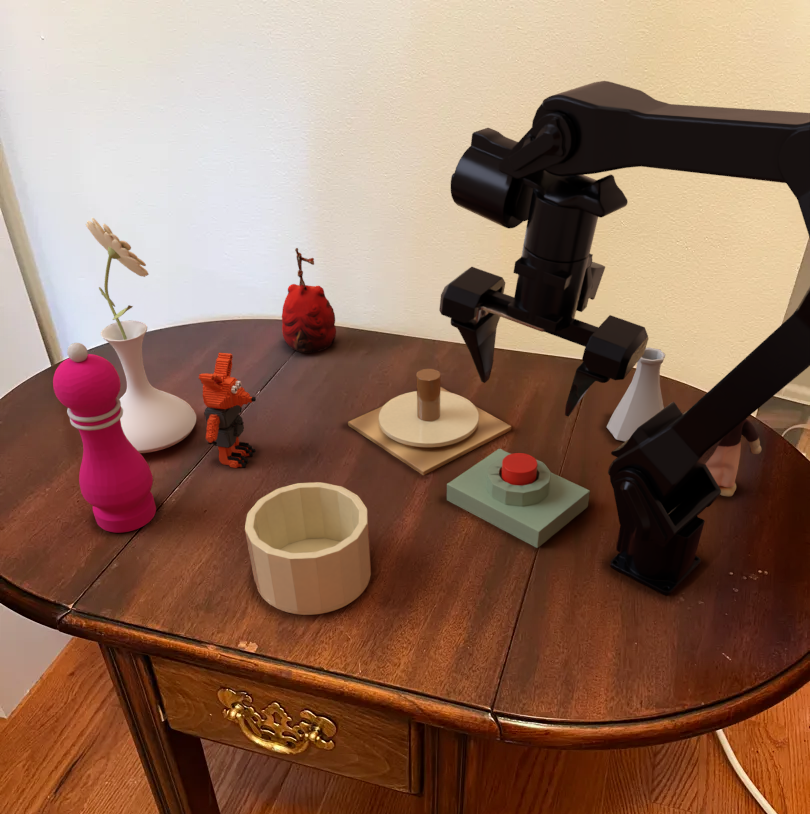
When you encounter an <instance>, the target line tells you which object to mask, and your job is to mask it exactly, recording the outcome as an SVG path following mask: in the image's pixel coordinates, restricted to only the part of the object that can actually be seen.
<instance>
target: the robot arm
mask: <svg viewBox="0 0 810 814" xmlns="http://www.w3.org/2000/svg"><path fill="white" fill-rule="evenodd" d="M470 142H471V143H470V145H469V147H468V148H467V149H466V150H465V151H464V152H463V154H462V155H461V156H460V158H459V160H458V162H457V165H456V167H455V170H454V173H452V175H451V177H450V195H451V199H452V200H453V202H454V204H455V205H456V206H458V207H460V208H462V209H465V210H467V211H468V212H471V213H473V214H475V215H476V216H479V217H481V218H483V219H486V220H488V221H490V222H492V223H495V224H496V225H499V226H500V227H503V228H505V229H514V228H517V227H518V226H519V225H521V224H522V223H523V222H526V227H525V234H524V239H523V245H522V250H521V257H519V258H518V259H517V260H516V261H515V262H514V265H513V266H514V267H513V274H516V275H517V278H516V285H515V289H514V290H515V291H514V296H512V295H508V294H506V293H505V289H506V281H505V279H504V277H502V276H500V275H497V274H494V273H491V272H488V271H486V270H482V269H480V268H477V267H474V266H471V267H469V268H467V269H465V270H464V271H463V272H462V273H461V274H459V275H458V276H457V277H456V278H454V279H453V280H451V281H450V282H449V283H448V284H446V285H445V286H444V288H443V289H442V292H441V293H440V300H439V310H438V311H439V313H440V314H441V316H444V317H446V318H449V319H450V326H452V327H454V328H456V329H457V330H458V332H459V334H460V336H461V338H462V340H463V342H464V344H465V346H466V348H467V349H468V352H469V354H470V357H471V359H472V361H473V364H474V366H475V367H474V368H475V369H476V373H477V374H478V377H479V379H480V382H481V383H483V384H486V383H487V382H488V381H489V380H490V377H491V374H492V369H493V367H494V366H493V365H494V356H495V345H496V338H497V336H496V335H497V329H498V326H499V325H498V324H499V322H500V320H501V318H503V319H506V320H508V321H511V322H514V323H516V324H520V325H522V326H525V327H528V328H530V329H533V330H536V331H538V332H541V333H547V334H549V335H552V336H555V337H557V338H560V339H563V340H565V341H569V342H570V343H573V344H576V345H580V346H582V347H584V350H583V354H582V358H581V360H582V362H581V363H580V364H579V366H578V367H577V368H576V370H575V373H574V376H573V380H572V383H571V386H570V390H569V392H568V395H567V400H566V403H565V406H564V407H565V408H564V416H566V417H570V415H572V414H573V412H574V410H575V409H576V408H577V407H578V405H579V403H580V402H581V400H583V398H584V396H585V395H586V393H587V392H588V391H589V389H590V388H591V387H592V385H593V384H594V383H595V382H598V383H602V384H606V383H608V382H610V380H613V381H623V380H624V379H625V378H626V377H627V376H628V374H629V373H630V372H631V371H632V370H633V368H634V367H635V366H636V365H637V362H638V361H639V359H640V358H641V357H642V356H643V354H644V352H645V348H647V345H648V342H649V335H648V332H647V330H646V327H645V326H643V325H640V324H637V323H634V322H631V321H628V320H625V319H622V318H620V317H617V316H614V315H611V314H609V315H608V316H607V317H606V319H605V320H604V321H603V322H602V323H601V324H600V325H599V326H597V325H593V324H590V323H588V322H585V321H582V320H579V319H577V318H576V314H577V312H579V313H583V312H584V311H585V309H587V307H588V304H589V300H592V301H593V300H595V298H596V295H597V292H598V290H599V287H600V284H601V281H602V278H603V275H604V272H605V269H606V266H605V265H603V264H600V263H598V262H595V261H593V255H594V254H592V253H591V250H592V244H593V241H594V237H595V232H596V229H597V224H598V221H599V220H598V219H599V218H604V217H606V216H609V215H611V214H612V213H615V212H617V211H619V210H621V209H623V208H625V207H627V205H628V202H629V201H628V198H627V197H626V194H624V192H623V190H622V189H621V188H620V187H619V186H618V184H617V182H616V179H615V176H614V175H613V174H608V175H605V176H603V177H601V178H599V179H595V178H592V177H590V176H588V175H595V174H599V173H600V174H601V173H607V172H612V171H617V170H621V169H629V168H630V169H631V168H640V167H642V168H651V169H659V170H669V171H676V172H677V171H678V172H686V173H694V174H703V175H712V176H721V177H727V178H728V177H729V178H737V179H746V180H754V181H764V182H772V183H781V184H786V186H788V188H789V190H790V191H791V192H792V194H793V195H794V197H795V198H796V200H797V202H798V207H799V209H800V212H801V215H802V218H803V222H804V224H805V228H806V231H807V234H808V237H809V239H810V112H800V111H785V110H784V111H783V110H770V109H755V108H753V109H752V108H740V107H739V108H738V107H721V106H704V105H692V104H691V105H690V104H676V103H675V104H674V103H673V104H672V103H668V102H665V101H661V100H658V99H655V98H654V97H653V96H650V95H649V94H647V93H646V92H644V91H643V90H640V89H637V88H633V87H630V86H626V85H623V84H618V83H615V82H612V81H607V80H601V81H600V80H599V81H595V82H591V83H588V84H585V85H582V86H577V87H576V88H571V89H568V90H565V91H562V92H558V93H556V94H552V95H549V96H548V97H546V98H544V99H543V100H542V102H541V104H540V105H539V107H538V108H537V109H536V111H535V114H534V116H533V118H532V124H531V128H530V129H529V130H528V131H527V132H526V133H525V134H524V135H523V136H522V137H521V138H520V139H519V140H518V141H517V140H514V139H512V138H509V137H506V136H505V135H503V134H502V133H501V132H499V131H498V130H495V129H493V128H490V127H485V128H482V129H479V130H476V131H473V132H472V134H471V140H470ZM809 367H810V286H809V287H808V289H807V290H806V293H805V294H804V295H803V297H802V299H801V301H800V303H799V305H798V306H797V308H796V309H795V311H794V312H793V313H792V314H791V315H790V316H789V317H788V318H787V319H786V320H785V321H784V322H782V323H781V324H780V325H779V326H778V327H777V328H776V329H775V330H774V331H773V332H771V334H769V336H767V337H766V338H765V339H764V340H763V341H762V342H760V344H759V345H758V346H756V347H755V348H754V349H753V350H752V351H751V352H750V353H749V354H748V355H746V357H744V358H743V360H741V361H740V362H739V363H738V364H737V365H736V366H735V367H733V368H732V370H730V371H729V372H728V373H727V374H726V375H725V376H724V377H722V379H721V380H720V381H718V382H717V383H716V384H715V385H714V386H713V387H712V388H711V389H710V390H708V391H707V392H706V393H705V394H704V395H703V396H702V397H701V398H700V399H699V400H698V401H696V403H694V404H693V405H692V406H691V407H690V408H688V410H686V411H684V412H682V410H680V408H679V407H678V405H677V403H676V402H675V401H671V402H670V403H669V404H668V405H666V406H665V407H664V409H662V410H661V411H660V412H658V413H657V414H656V415H654V416H653V417H652V418H650V419H649V420H647V421H646V422H645V423H643V424H642V425H641V426H639V427H638V428H637V429H636V430H635V432H634V433H633V434H632V435H631V437H630V438H629V439H628V440H627V441H623V443H621V444H620V445H619V446H617V447H616V448H615V449H613V450H612V451H611V452H610V454H611V455H612V456H613V457H616V458H615V459H614V460H612V462H611V463H610V465H609V467H608V471H607V474H608V475H609V480H610V484H611V487H612V490H613V496H614V502H615V505H616V512H617V517H618V522H619V530H618V535H617V542H616V546H615V549H616V552H618V553H617V554H616V555H615V556H614V557H612V558H611V560H610V562H609V566H610V567H609V568H611V569H614V570H615V571H617V572H619V573H621V574H622V575H624V576H627V577H629V578H631V579H633V580H634V581H636V582H639V583H641V584H642V585H644V586H645V587H648V588H650V589H652V590H654V591H656V592H658V593H659V594H661V595H664V596H670V595H671V594H672V593H673V592H674V591H675V590H676V589H677V588H678V587H680V585H681V584H683V582H684V581H685V580H686V579H687V578H688V577H689V576H690V575H691V574H692V573H693V572H694V571H695V570H696V569H697V568H698V567H699V566H700V564H701V561H702V559H701V558H700V557H699V556H698V555H697V551H698V547H699V544H700V541H701V536H702V533H703V530H704V529H703V528H704V525H705V519H703V518H701V517H699V515H701V513H703V511H704V510H706V509H707V508H709V507H710V506H711V505H712V504H713V503H714V502H715V501H716V500H717V499H718V498H719V496H720V494H721V489H720V488H719V486H718V484H717V483H716V481H715V479H714V478H713V476H712V474H711V473H710V471H709V469H708V468H707V466H706V463H707V461H708V460H709V459H710V458H711V456H712V455H713V454H714V452H715V450H716V449H717V447H718V445H719V443H720V442H721V440H722V439H723V438H724V437H725V436H726V435H727V434H728V433H729V432H731V431H732V430H733V429H734V428H735V427H737V426H738V425H739V424H740V423H741V422H743V421H744V420H745V419H748V418H749V417H751V415H752V414H753V413H755V412H756V411H757V410H758V409H760V408H761V407H762V406H764V405H765V404H766V403H767V402H768V401H769V400H770V399H772V398H773V397H775V395H776V394H778V393H779V392H780V391H782V390H783V389H784V388H785V387H786V386H787V385H789V384H790V383H791V382H792V381H793V380H795V379H796V378H798V376H800V375H801V374H802V373H803V372H805V370H807V369H808V368H809Z"/></svg>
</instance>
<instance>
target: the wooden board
mask: <svg viewBox="0 0 810 814" xmlns="http://www.w3.org/2000/svg"><path fill="white" fill-rule="evenodd" d="M441 391H445V392H450V393H452V391H449V390H447V389H445V388H444V387H442V386H441ZM383 406H384V405H382V406H380V407H377V408H376V409H372V410H371V411H369V412H366V413H365V414H362V415H360V416H358V417H356V418H355V417H354V418H353V419H351V420H349V421H348V422H347V425H348V427H350V428H351V429H352V430H354V431H356V432H357V433H358V434H360V435H362V436H363V437H365V438H366V439H368V440H369V441H371V442H372V443H374V444H375V445H377V446H378V447H380V448H381V449H383V450H384V451H385V452H387V453H388V454H390V455H392V456H393V457H395V458H396V459H398V460H399V461H401V462H402V463H404V464H405V465H406V466H408V467H410V468H411V469H413V470H414V471H416V472H417V473H419V474H420V475H421V476H425V475H428V474H430V473H431V472H433V471H435V470H437V469H439V468H440V467H443V466H444V465H447V464H448V463H450V462H453V461H454V460H456V459H458V458H461V457H462V456H464V455H466V454H467V453H470V452H471V451H473V450H476V449H477V448H479V447H482V446H483V445H485V444H487V443H489V442H491V441H493V440H495V439H496V438H498V437H500V436H503V435H504V434H507V433H508V432H511V431H512V425H510V424H508V423H506V422H505V421H503V420H501V419H499V418H497V417H495V416H494V415H492V414H491V413H489V412H487V411H485V410H483V409H481V407H480V408H479V407H478V406H476V405H474V406H475V407H476V409H477V410H478V413H479V423H478V426H477V428H476V430H475V431H474V432H473V433H472V434H471V435H470V436H468V437H467V438H465V439H464V440H462V441H459V442H457V443H454V444H450V445H446V446H441V447H416V446H410V445H406V444H403V443H400V442H397V441H395V440H393V439H391V438H390V437H388V436H387V435H386V434H385V433H384V432H383V431H382V429H381V427H380V425H379V413H380V410H381V409H382V407H383Z"/></svg>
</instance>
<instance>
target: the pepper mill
mask: <svg viewBox="0 0 810 814" xmlns="http://www.w3.org/2000/svg"><path fill="white" fill-rule="evenodd" d="M66 353H67V356H68V358H66V359H65V360H63V361H61V362H60V364H58V366H57V368H56V369H55V371H54V374H53V377H52V386H53V387H52V388H53V392H54V395H55V396H56V398H57V400H58V401H59V402H60V403H61V404H62V405H63V406H64V407H65V408H67V410H66V414H67V415H68V418H69V423H70V425H71V426H72V427H74V428H75V429H77V430H78V433H79V434H80V438H81V441H82V446H83V449H82V450H83V452H82V459H81V464H80V466H79V467H80V468H79V473H78V475H79V476H78V483H79V488H80V492H81V495H82V497H83V499H84V500H85V502H87V503H88V504H89V505H91V506H92V513H93V516H94V519H95V523H96V524H97V526H98V527H100V528H101V529H102V530H103V531H106V532H109V533H115V534H116V533H119V534H121V533H129V532H133V531H137V530H139V529H140V528H142V527H144V526H146V525H147V524H149V523H150V522H151V521H152V520H153V519H154V517H155V515H156V512H157V505H156V501H155V498H154V494H153V493H152V491H151V490H152V488H153V483H154V477H153V473H152V470H151V468H150V466H149V464H148V462H147V461H146V459H145V458H144V456H143V455H142V453H139V452H138V451H137V450H136V449H135V447H134V446H133V445H132V444H131V443H130V442H129V440H128V439H127V438H126V436H125V434H124V432H123V429H122V426H121V421H120V418H121V417H122V415H123V409H122V407H121V402H120V400H119V399H120V398H119V394H120V392H121V386H122V385H121V377H120V375H119V373H118V371H117V370H116V368H115V366H114V365H113V363H112V362H111V361H109V360H108V359H106V358H104V357H103V356H100V355H97V354H93V353H89V351H88V348H87V346H85V345H84V344H83V343H81V342H74V343H71V344H70V345H68V347H67V351H66Z"/></svg>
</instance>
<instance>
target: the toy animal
mask: <svg viewBox="0 0 810 814" xmlns="http://www.w3.org/2000/svg"><path fill="white" fill-rule="evenodd" d="M233 358H234V356H233V354H232V353H227V352H218V355H217V358H216V359H215V366H214V371H213V373H208V372H204V373H201V374H200V373H199V374H198V379H199V380H200V382H201V384H202V400H203V404H204V405H205V406H206V408H205V409H204V412H203V414H204V418H205V423H206V424H207V425H206V432H205V440H206V442H207V444H208V445H212V446H213V447H217V449H218V460H219V463H220V464H221V465H227V466H229V467H230V468H234V469H237V468H239V467H240V468H245V467H246V466H247V464H249V459H248V458H246V457H253V456H254V454H255V453H256V448H253V446H252V445H250V443H249V442H246V441H240V437H241V435H242V434H243V432H244V431H245V430H244V429H245V425H244V424H245V423H244V420H243V419H244V418H243V417H242V416H241V415H240V414H242V411H243V406H244V405H248V404H249V403H250V404H252V403H253V402H254V403H255V402H256V401H257V397H256V396H251V393H249V392H248V391H246V390H245V388H244V387H243V386H242V381H241V380H239V379H238V378H236V377H233V376H231V375H232V368H233Z"/></svg>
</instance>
